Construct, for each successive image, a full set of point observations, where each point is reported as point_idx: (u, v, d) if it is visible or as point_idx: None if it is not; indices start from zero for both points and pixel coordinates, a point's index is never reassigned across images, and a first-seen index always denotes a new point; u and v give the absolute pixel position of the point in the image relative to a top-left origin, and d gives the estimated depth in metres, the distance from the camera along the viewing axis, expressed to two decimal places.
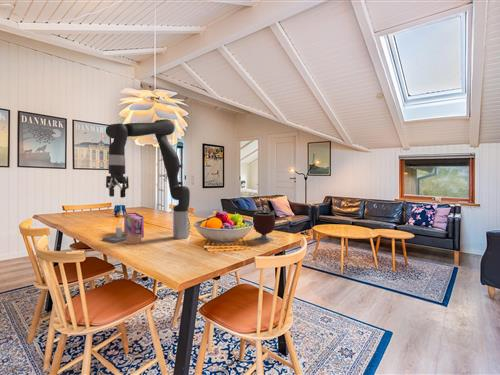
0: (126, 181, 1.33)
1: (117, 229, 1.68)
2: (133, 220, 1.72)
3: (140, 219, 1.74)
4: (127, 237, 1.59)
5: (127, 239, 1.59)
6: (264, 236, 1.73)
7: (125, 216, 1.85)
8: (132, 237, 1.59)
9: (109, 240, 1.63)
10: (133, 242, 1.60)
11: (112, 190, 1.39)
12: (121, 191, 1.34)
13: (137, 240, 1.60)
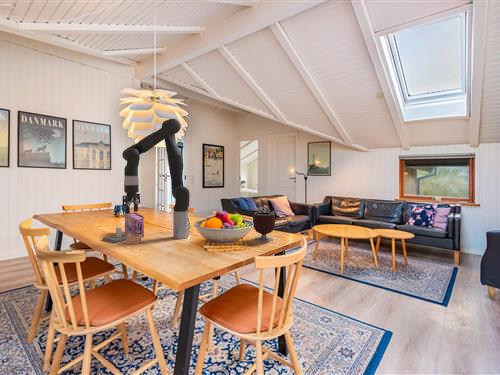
0: None
1: (117, 229, 1.68)
2: (133, 220, 1.72)
3: (140, 219, 1.74)
4: (127, 237, 1.59)
5: (127, 239, 1.59)
6: (264, 236, 1.73)
7: (125, 216, 1.86)
8: (132, 237, 1.59)
9: (109, 240, 1.63)
10: (133, 242, 1.60)
11: None
12: (137, 206, 1.60)
13: (137, 240, 1.60)
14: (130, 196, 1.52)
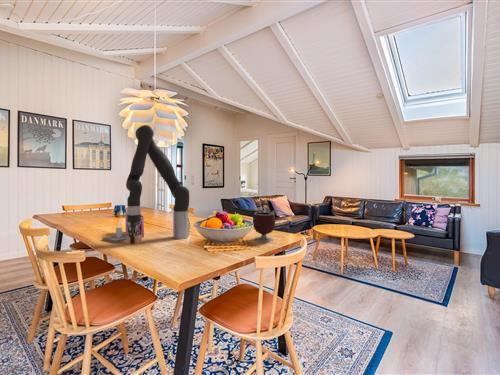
0: None
1: (117, 229, 1.68)
2: None
3: None
4: (127, 237, 1.59)
5: (127, 239, 1.59)
6: (264, 236, 1.73)
7: (126, 216, 1.86)
8: None
9: (109, 240, 1.63)
10: None
11: None
12: None
13: (137, 240, 1.60)
14: (134, 226, 1.59)
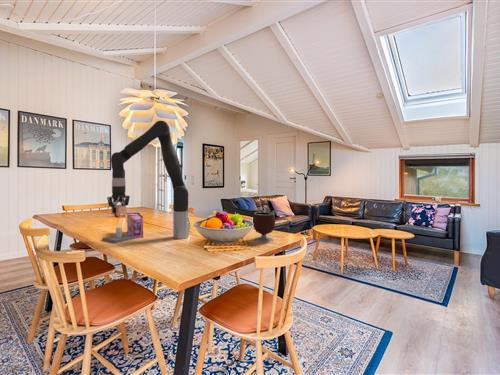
0: None
1: (117, 229, 1.68)
2: (132, 220, 1.72)
3: (139, 219, 1.73)
4: None
5: None
6: (264, 236, 1.73)
7: (127, 216, 1.87)
8: None
9: (109, 240, 1.63)
10: None
11: None
12: None
13: (117, 211, 1.65)
14: (115, 197, 1.65)
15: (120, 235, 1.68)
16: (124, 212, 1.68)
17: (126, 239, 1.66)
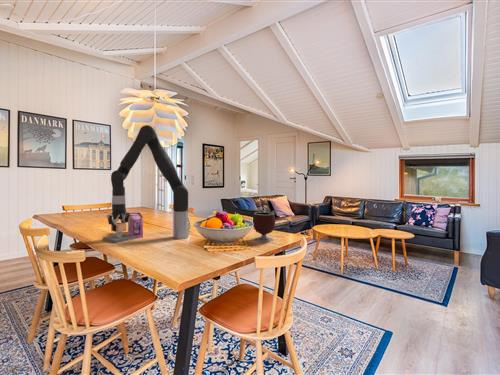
0: None
1: None
2: (132, 220, 1.71)
3: (139, 219, 1.73)
4: (111, 225, 1.68)
5: (111, 227, 1.68)
6: (264, 236, 1.73)
7: None
8: None
9: (109, 240, 1.63)
10: None
11: None
12: None
13: (117, 229, 1.65)
14: (115, 215, 1.65)
15: (120, 235, 1.68)
16: (124, 229, 1.68)
17: (126, 239, 1.66)
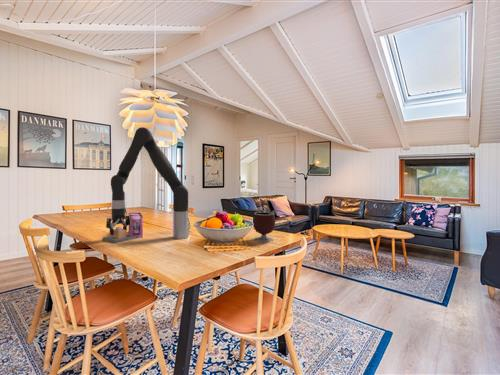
0: None
1: (117, 229, 1.68)
2: (131, 220, 1.72)
3: (139, 219, 1.73)
4: None
5: None
6: (264, 236, 1.73)
7: None
8: (114, 231, 1.67)
9: (109, 240, 1.63)
10: (115, 236, 1.66)
11: None
12: (125, 227, 1.72)
13: (117, 235, 1.65)
14: (115, 219, 1.65)
15: None
16: (124, 235, 1.68)
17: (126, 239, 1.66)
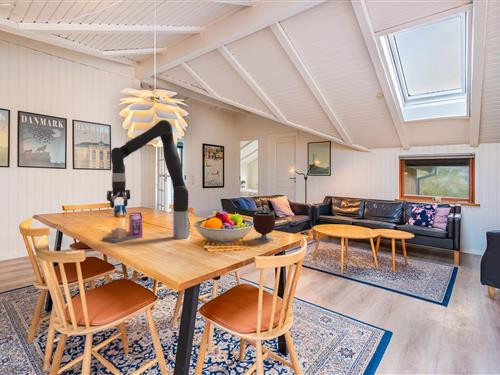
0: None
1: (117, 229, 1.68)
2: (131, 220, 1.71)
3: (138, 219, 1.73)
4: (112, 231, 1.68)
5: (112, 233, 1.68)
6: (264, 236, 1.73)
7: (129, 216, 1.87)
8: (114, 231, 1.67)
9: (109, 240, 1.63)
10: (115, 236, 1.66)
11: None
12: (126, 201, 1.72)
13: (117, 235, 1.65)
14: (115, 191, 1.65)
15: None
16: (124, 235, 1.68)
17: (126, 239, 1.66)
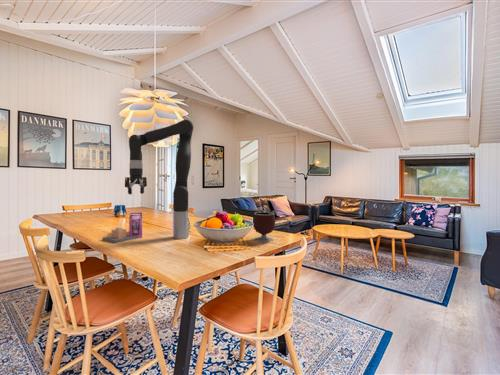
0: None
1: (117, 229, 1.68)
2: (131, 220, 1.71)
3: (138, 219, 1.73)
4: (112, 231, 1.68)
5: (112, 233, 1.68)
6: (264, 236, 1.73)
7: (130, 216, 1.88)
8: (114, 231, 1.67)
9: (109, 240, 1.63)
10: (115, 236, 1.66)
11: None
12: (143, 188, 1.74)
13: (117, 235, 1.65)
14: (133, 178, 1.67)
15: None
16: (124, 235, 1.68)
17: (126, 239, 1.66)
